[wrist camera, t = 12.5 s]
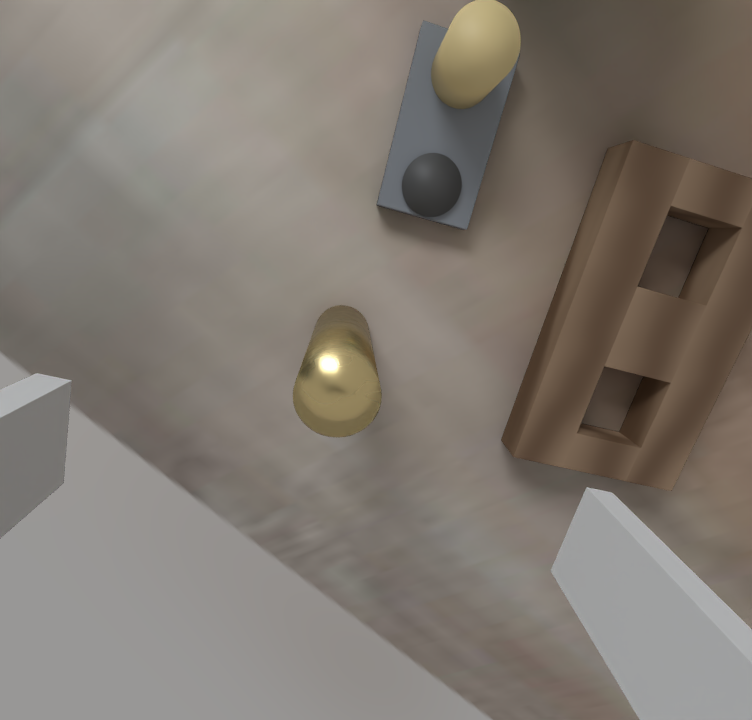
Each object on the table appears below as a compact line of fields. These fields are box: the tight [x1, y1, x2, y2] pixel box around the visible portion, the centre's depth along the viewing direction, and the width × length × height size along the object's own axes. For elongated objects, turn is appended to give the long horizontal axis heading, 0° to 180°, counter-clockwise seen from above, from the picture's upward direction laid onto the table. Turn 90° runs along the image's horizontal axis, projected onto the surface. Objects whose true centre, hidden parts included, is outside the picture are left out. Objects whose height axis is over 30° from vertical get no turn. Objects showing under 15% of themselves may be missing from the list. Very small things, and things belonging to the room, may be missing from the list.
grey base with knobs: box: [377, 0, 521, 230], centre depth 24 cm, size 6×10×5 cm, turn 165°
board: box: [501, 140, 752, 491], centre depth 29 cm, size 12×20×2 cm, turn 165°
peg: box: [293, 305, 381, 437], centre depth 23 cm, size 4×4×12 cm
